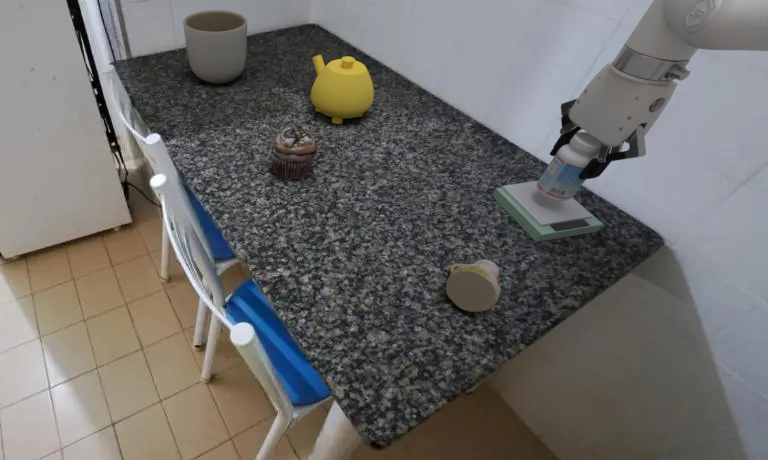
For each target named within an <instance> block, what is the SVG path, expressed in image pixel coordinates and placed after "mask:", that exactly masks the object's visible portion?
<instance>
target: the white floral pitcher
mask: <svg viewBox="0 0 768 460" xmlns="http://www.w3.org/2000/svg"><path fill="white" fill-rule="evenodd" d="M499 277H500V268H499V266H498V265H497V264H496V263H495V262H493V261H491V260H489V259H486V258H485V259H478V260H476V261H475V262H474V263H467V264H464V263H454V264H452V265H451V266H450V267H449V276H448V278H447V280H446V283H445V292H446V295H447V297H448V298H449V299H450V300H451V302H452V303H453V304H454V306H456V307H457V308H459V309H460V310H463V311H465V312H466V311H467V312H470V313H471V312H472V313H479V312H480V313H481V312H485V311H488V310H489V311H490V310H491V309H492V308H493V307H494V306H495V305H496V304H497V302H498V301H499V299H500V297H501V292H502V287H501V282H500V279H499Z"/></svg>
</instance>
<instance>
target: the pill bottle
mask: <svg viewBox="0 0 768 460" xmlns="http://www.w3.org/2000/svg"><path fill="white" fill-rule="evenodd" d="M601 144H602V142H601V141H599V140H598V139H596V138H595V137H593V136H592V135H590V134H589V133H588V132H586V131H579V132H578V133H576V134H575V135H574V136H573V138H572V139H571V140H570V144H566V145H564V146H562V147H561V148H560V149H559V150H558V152H557V153H556V155H555V156H553V158H552V160H551V161H550V162H549V164H548V165H547V167H546V169H545V170H544V172H543V173H542V174H541V176H540V177H539V179H538V180H537V181H538V182H537V185H536V187H537V189H538V191H539V192H540V193H541V194H543V195H544V196H546V197H548V198H550V199H553V200H558V201H565V200H568V199H570V198H574V196H575V194H576V193H577V192H578V191H579V190H580V188H581V187H582V186H583V184H584V183H585V181H586V180H587V179H585V180H581V179H580V178H579V175H580V174H581V172H582V171H583V170H584V169H585V167H586V166H587V165H588V163H589V162H590V161H591V160H592V159H594V158H598V154H599V151H600V147H601Z"/></svg>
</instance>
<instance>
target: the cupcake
mask: <svg viewBox="0 0 768 460" xmlns="http://www.w3.org/2000/svg"><path fill="white" fill-rule="evenodd" d="M316 140H317V139H316V138H315V137H314V136H313V134H312V133H310V129H309V126H308V125H307V124H303V125H301V126H298V127H297V128H295V126H294V125H292V124H290V125H289V127H287V128H284V130H283V131H282V132H280V133H279V134H277V135H276V136H275V138H274V141H273V142H272V144H271V145H270V147H269V154H270V159H271V164H272V170H273V173H275V175H276V176H277V177H279V178H281V179H284V180H289V181H293V180H300V179H302V178H305V177H307V175H308V174H309V172H310V170H311V168H312V165H313V163H314V160H315V159H316V155H317V153H318V142H317V141H316Z"/></svg>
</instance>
